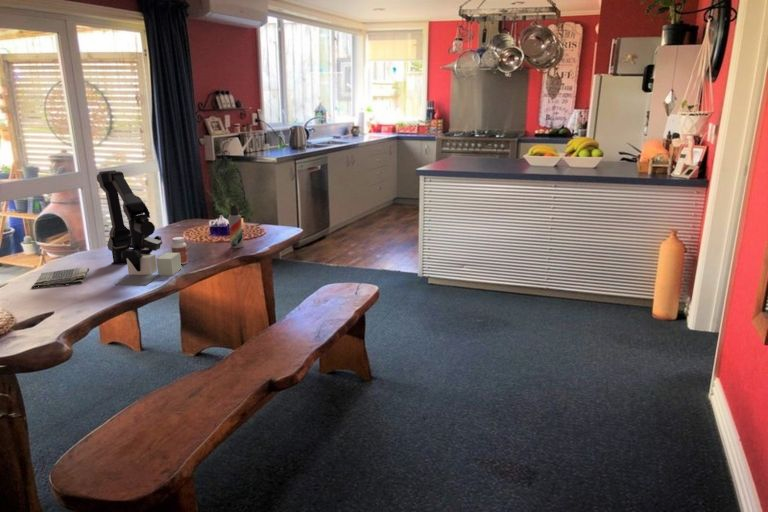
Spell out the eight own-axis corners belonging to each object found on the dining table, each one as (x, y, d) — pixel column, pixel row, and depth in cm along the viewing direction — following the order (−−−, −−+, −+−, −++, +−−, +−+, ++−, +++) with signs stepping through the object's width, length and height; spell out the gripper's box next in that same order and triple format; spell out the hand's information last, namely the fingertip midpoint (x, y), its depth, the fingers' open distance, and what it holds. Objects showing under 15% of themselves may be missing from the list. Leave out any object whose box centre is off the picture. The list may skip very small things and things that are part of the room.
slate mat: (115, 285, 214) (115, 284, 214) (131, 275, 225) (130, 274, 225) (146, 285, 213) (146, 284, 213) (160, 275, 225) (160, 274, 224)
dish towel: (41, 276, 226) (39, 269, 226) (90, 271, 232) (89, 264, 232) (31, 290, 210) (29, 282, 209) (84, 285, 216) (83, 277, 215)
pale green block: (172, 275, 225) (170, 258, 223) (158, 275, 225) (156, 258, 223) (181, 268, 233) (180, 252, 231) (167, 268, 234) (165, 252, 232)
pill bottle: (190, 263, 241) (187, 238, 238) (175, 265, 238) (172, 240, 235) (186, 260, 246) (183, 235, 243) (171, 262, 243) (168, 237, 240)
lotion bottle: (231, 248, 264) (227, 206, 259) (230, 245, 270) (227, 204, 264) (243, 247, 266) (240, 206, 260) (243, 244, 271) (239, 204, 266)
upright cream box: (128, 274, 226) (126, 258, 224) (135, 270, 232) (133, 254, 230) (150, 274, 226) (148, 258, 224) (157, 270, 232) (155, 254, 230)
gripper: (146, 237, 215) (151, 276, 219) (167, 226, 233) (171, 262, 237) (118, 237, 215) (123, 275, 220) (141, 226, 233) (145, 262, 238)
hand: (142, 268), depth 228 cm, fingers closed on upright cream box, 6 cm apart
